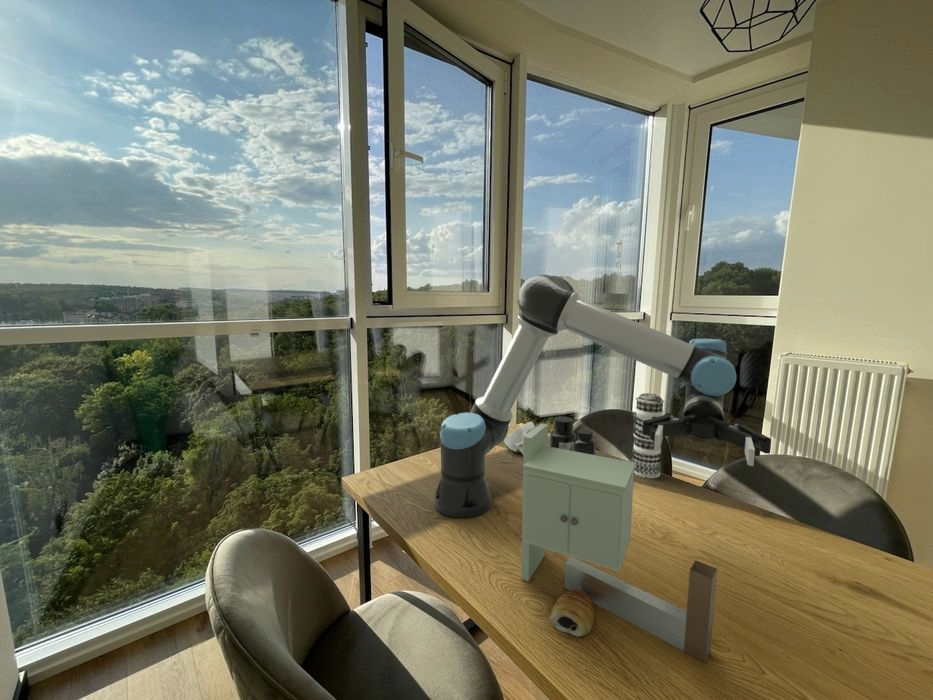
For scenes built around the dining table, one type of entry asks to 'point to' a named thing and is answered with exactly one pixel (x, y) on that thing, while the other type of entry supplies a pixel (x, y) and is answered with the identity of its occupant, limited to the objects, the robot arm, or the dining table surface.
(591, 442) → the supplement bottle
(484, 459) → the robot arm
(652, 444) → the decorative candle
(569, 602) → the pastry
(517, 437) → the skull bowl
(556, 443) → the ink bottle
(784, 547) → the dining table surface
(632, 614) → the l-shaped try square
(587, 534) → the green cabinet
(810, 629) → the dining table surface
